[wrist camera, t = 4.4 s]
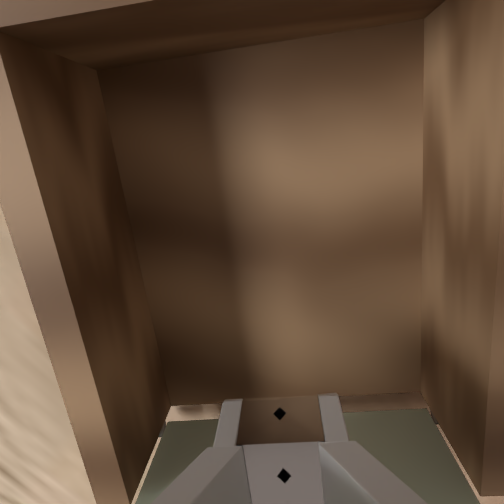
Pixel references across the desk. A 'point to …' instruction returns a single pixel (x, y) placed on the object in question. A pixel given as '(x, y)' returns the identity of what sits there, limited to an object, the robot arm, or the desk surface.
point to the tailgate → (359, 429)
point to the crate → (258, 209)
